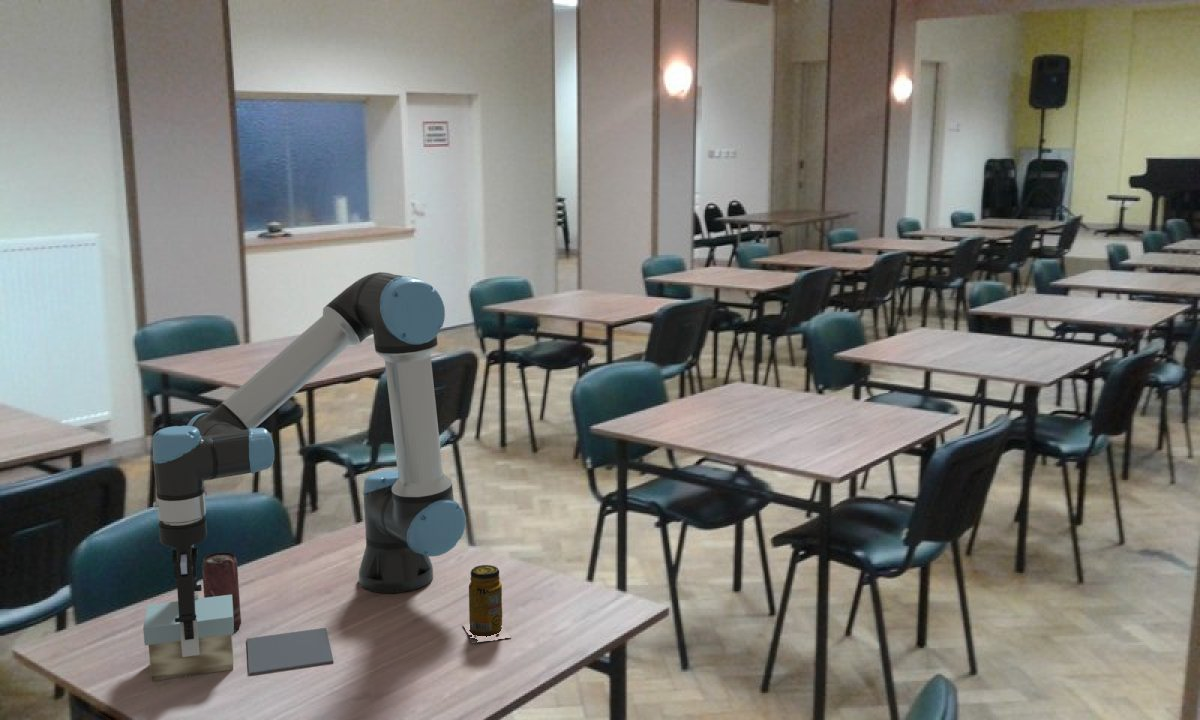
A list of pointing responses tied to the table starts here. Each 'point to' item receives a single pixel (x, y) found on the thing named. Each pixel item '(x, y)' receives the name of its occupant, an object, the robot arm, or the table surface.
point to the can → (222, 580)
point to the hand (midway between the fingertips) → (191, 641)
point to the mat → (288, 651)
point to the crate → (191, 658)
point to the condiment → (485, 601)
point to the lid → (209, 613)
